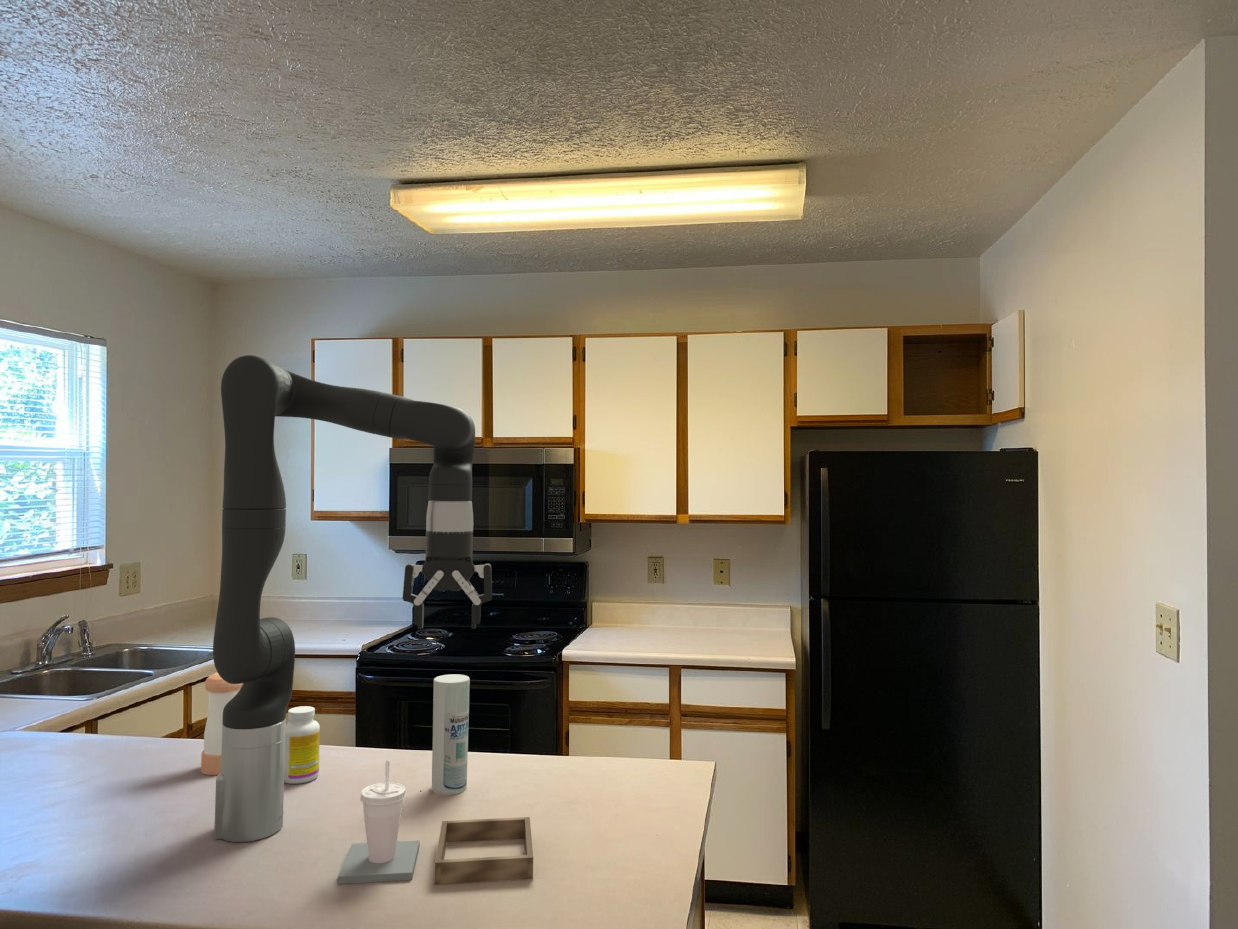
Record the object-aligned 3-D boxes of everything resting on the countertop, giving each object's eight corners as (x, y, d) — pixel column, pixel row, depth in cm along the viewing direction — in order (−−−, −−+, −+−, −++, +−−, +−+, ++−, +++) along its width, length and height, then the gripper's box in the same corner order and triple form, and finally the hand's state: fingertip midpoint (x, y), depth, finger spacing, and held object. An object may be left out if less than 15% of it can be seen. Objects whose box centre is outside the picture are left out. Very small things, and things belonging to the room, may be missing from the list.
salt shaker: (231, 775, 147) (234, 673, 147) (193, 774, 147) (196, 672, 147) (250, 762, 154) (253, 664, 154) (213, 761, 154) (216, 664, 155)
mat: (337, 884, 107) (338, 876, 108) (351, 850, 117) (351, 843, 117) (412, 879, 109) (412, 872, 109) (419, 847, 119) (419, 840, 119)
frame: (434, 884, 108) (434, 863, 108) (441, 840, 121) (442, 821, 121) (532, 879, 110) (533, 857, 110) (529, 836, 123) (529, 817, 123)
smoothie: (391, 870, 110) (393, 769, 110) (350, 865, 111) (352, 766, 111) (412, 849, 116) (414, 754, 116) (372, 845, 117) (374, 751, 118)
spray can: (450, 779, 147) (452, 672, 147) (474, 787, 143) (477, 677, 143) (423, 789, 141) (426, 679, 142) (448, 798, 138) (450, 684, 138)
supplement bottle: (326, 777, 147) (328, 708, 147) (295, 788, 141) (297, 716, 142) (304, 769, 150) (306, 702, 151) (272, 780, 145) (274, 710, 145)
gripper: (402, 529, 123) (399, 632, 122) (493, 530, 125) (491, 631, 125) (407, 527, 130) (405, 624, 130) (493, 527, 133) (491, 623, 132)
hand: (447, 627), depth 127 cm, fingers open, 8 cm apart
